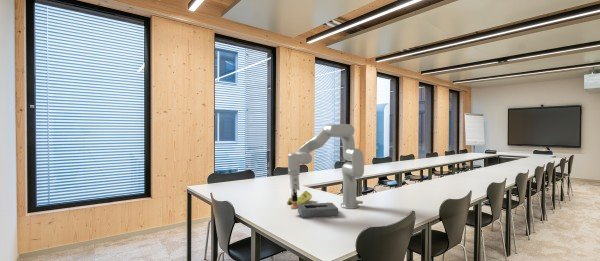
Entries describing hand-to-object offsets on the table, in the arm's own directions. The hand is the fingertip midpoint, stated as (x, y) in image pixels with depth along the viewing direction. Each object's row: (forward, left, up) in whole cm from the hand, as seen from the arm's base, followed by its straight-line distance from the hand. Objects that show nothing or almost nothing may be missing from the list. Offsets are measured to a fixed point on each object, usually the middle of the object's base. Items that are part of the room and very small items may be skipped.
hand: (294, 200), depth 183 cm
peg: (0, 0, -5) cm, 5 cm away
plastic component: (-9, -27, -10) cm, 30 cm away
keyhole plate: (-15, 0, -10) cm, 18 cm away
